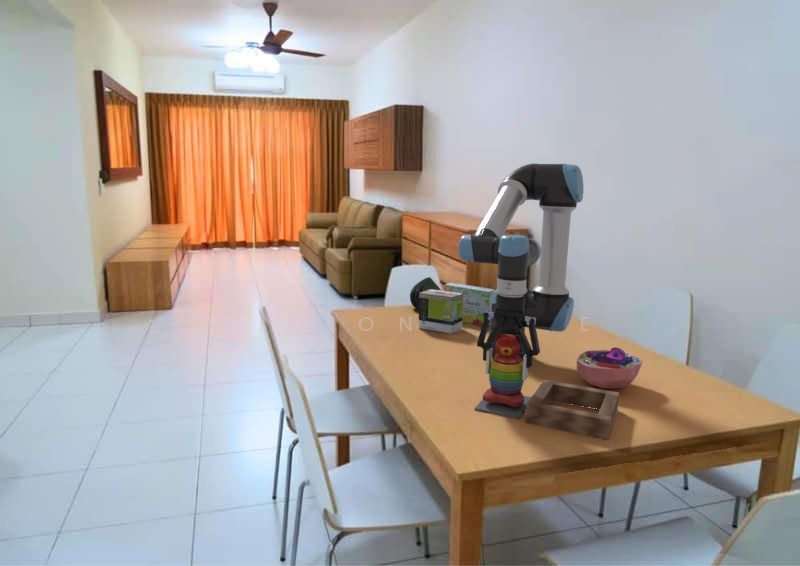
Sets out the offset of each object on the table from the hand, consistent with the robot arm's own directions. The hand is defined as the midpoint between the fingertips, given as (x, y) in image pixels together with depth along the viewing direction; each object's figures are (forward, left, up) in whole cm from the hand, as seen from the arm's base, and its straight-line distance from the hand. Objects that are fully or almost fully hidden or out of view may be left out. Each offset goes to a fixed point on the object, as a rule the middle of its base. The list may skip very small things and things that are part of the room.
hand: (506, 375), depth 159 cm
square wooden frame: (+18, +1, -8) cm, 20 cm away
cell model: (+23, +29, -9) cm, 38 cm away
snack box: (-38, +78, -9) cm, 87 cm away
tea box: (-44, +62, -9) cm, 76 cm away
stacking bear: (0, 0, -7) cm, 7 cm away
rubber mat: (0, 0, -8) cm, 8 cm away
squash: (-62, +89, -9) cm, 109 cm away
